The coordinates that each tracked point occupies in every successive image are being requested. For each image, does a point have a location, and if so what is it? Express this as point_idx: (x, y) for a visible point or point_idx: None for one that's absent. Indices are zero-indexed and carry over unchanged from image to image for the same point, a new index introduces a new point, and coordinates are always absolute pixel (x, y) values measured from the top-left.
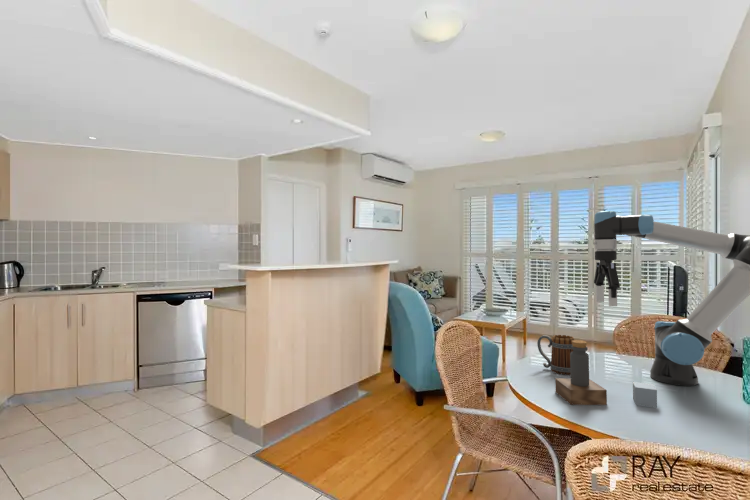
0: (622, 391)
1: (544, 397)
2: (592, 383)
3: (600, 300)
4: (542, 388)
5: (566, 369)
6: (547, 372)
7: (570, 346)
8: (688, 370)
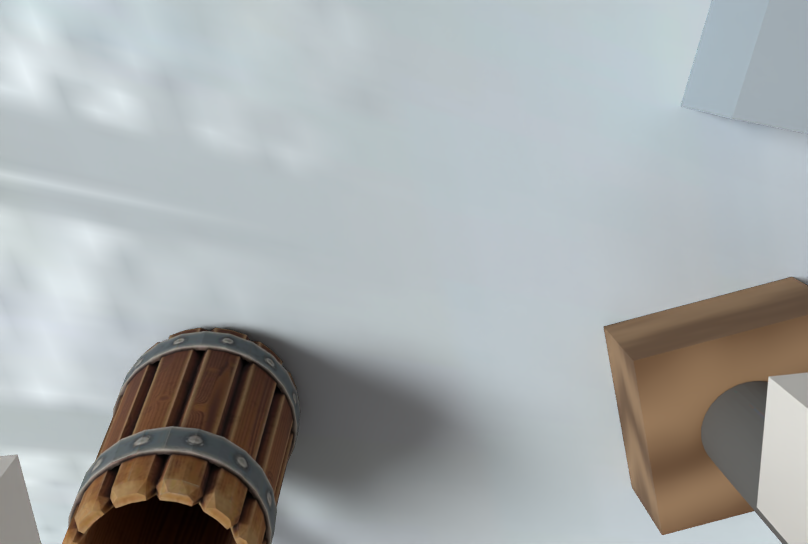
0: (559, 129)
1: (717, 540)
2: (732, 356)
3: (24, 540)
4: (583, 540)
5: (297, 416)
6: None
7: (260, 482)
8: None
